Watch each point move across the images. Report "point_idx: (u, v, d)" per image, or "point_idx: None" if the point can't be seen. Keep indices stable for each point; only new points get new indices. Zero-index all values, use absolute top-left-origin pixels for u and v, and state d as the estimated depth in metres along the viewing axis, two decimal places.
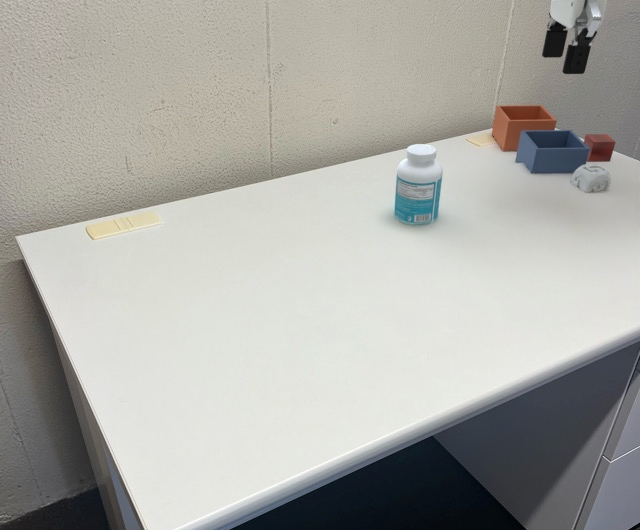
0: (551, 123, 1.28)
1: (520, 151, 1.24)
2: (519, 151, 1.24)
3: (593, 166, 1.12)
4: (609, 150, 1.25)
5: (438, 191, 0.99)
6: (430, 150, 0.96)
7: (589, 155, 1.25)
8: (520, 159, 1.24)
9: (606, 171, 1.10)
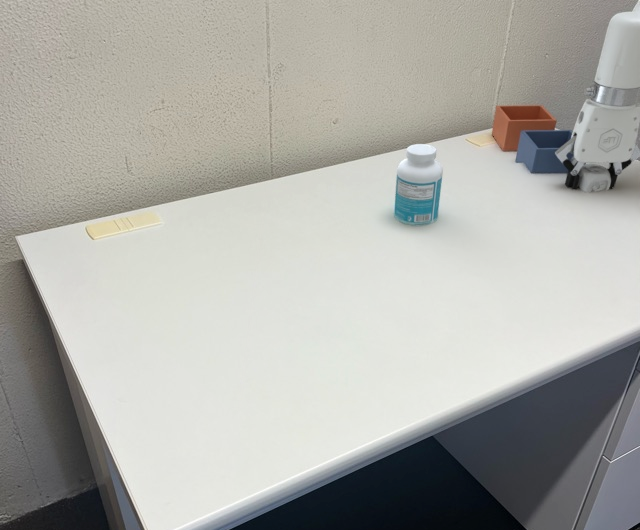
0: (551, 123, 1.28)
1: (520, 151, 1.24)
2: (519, 151, 1.24)
3: (593, 166, 1.12)
4: None
5: (438, 191, 0.99)
6: (430, 150, 0.96)
7: None
8: (520, 159, 1.24)
9: (606, 171, 1.10)
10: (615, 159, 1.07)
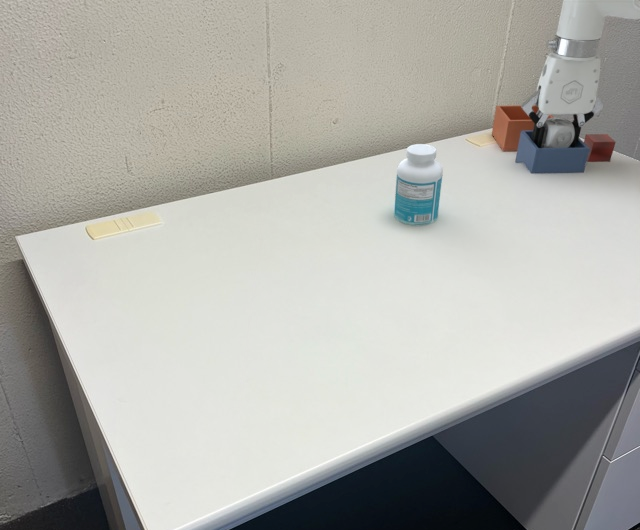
0: None
1: (520, 151, 1.24)
2: (519, 151, 1.24)
3: (558, 119, 1.18)
4: (609, 150, 1.25)
5: (438, 191, 0.99)
6: (430, 150, 0.96)
7: (589, 155, 1.25)
8: (520, 159, 1.24)
9: (570, 123, 1.16)
10: (577, 110, 1.13)
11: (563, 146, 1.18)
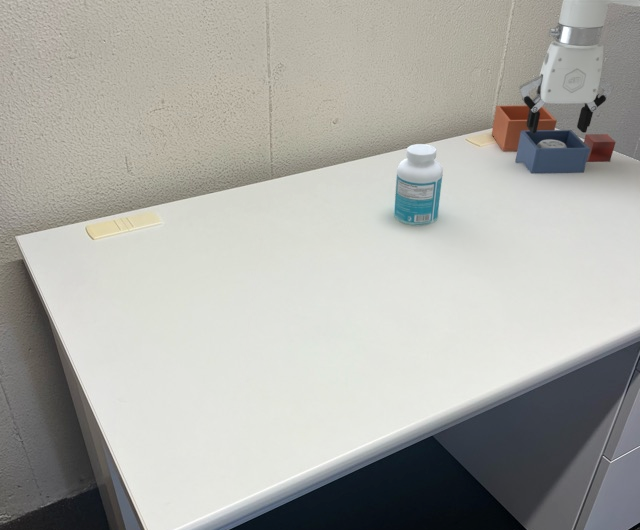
0: (551, 123, 1.28)
1: (520, 151, 1.24)
2: (519, 151, 1.24)
3: (554, 141, 1.21)
4: (609, 150, 1.25)
5: (438, 191, 0.99)
6: (430, 150, 0.96)
7: (589, 155, 1.25)
8: (520, 159, 1.24)
9: (563, 146, 1.19)
10: (580, 100, 1.12)
11: None
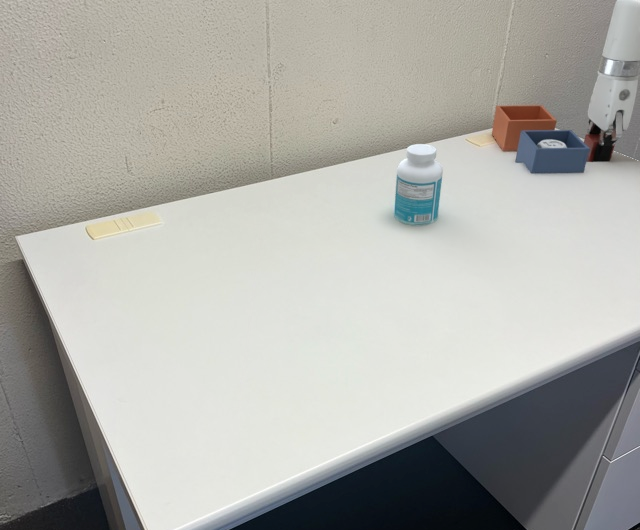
0: (551, 123, 1.28)
1: (520, 151, 1.24)
2: (519, 151, 1.24)
3: (554, 141, 1.21)
4: None
5: (438, 191, 0.99)
6: (430, 150, 0.96)
7: (589, 155, 1.25)
8: (520, 159, 1.24)
9: (563, 146, 1.19)
10: None
11: None
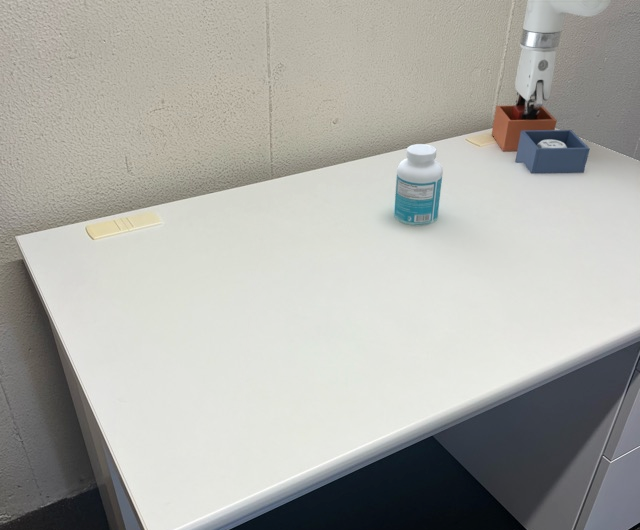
0: (551, 123, 1.28)
1: (520, 151, 1.24)
2: (519, 151, 1.24)
3: (554, 141, 1.21)
4: None
5: (438, 191, 0.99)
6: (430, 150, 0.96)
7: None
8: (520, 159, 1.24)
9: (563, 146, 1.19)
10: None
11: None
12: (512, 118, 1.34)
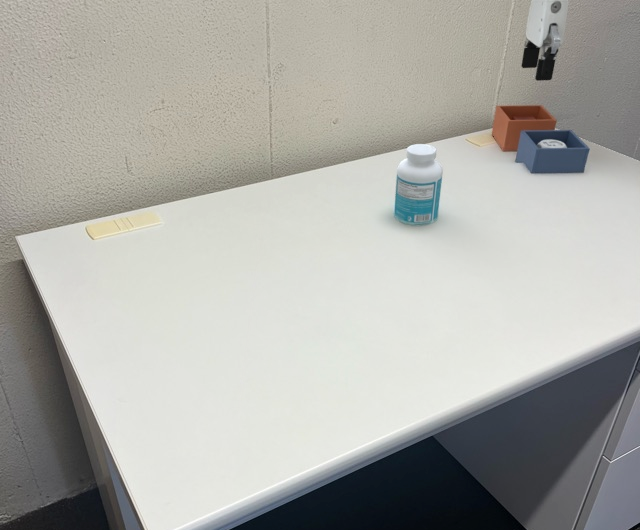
0: (551, 123, 1.28)
1: (520, 151, 1.24)
2: (519, 151, 1.24)
3: (554, 141, 1.21)
4: None
5: (438, 191, 0.99)
6: (430, 150, 0.96)
7: None
8: (520, 159, 1.24)
9: (563, 146, 1.19)
10: None
11: None
12: None
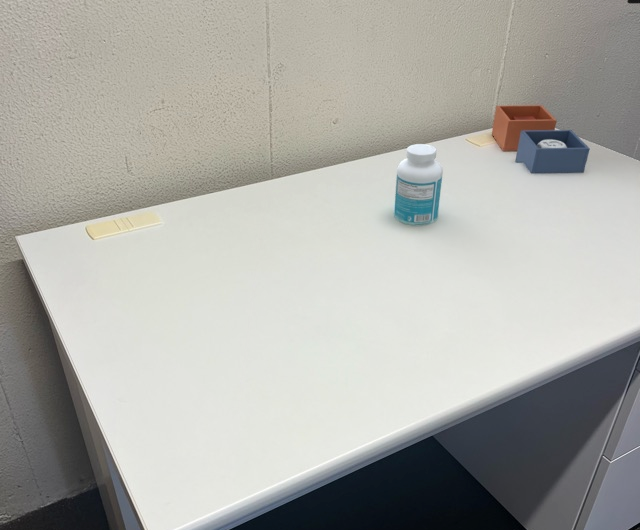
0: (551, 123, 1.28)
1: (520, 151, 1.24)
2: (519, 151, 1.24)
3: (554, 141, 1.21)
4: None
5: (438, 191, 0.99)
6: (430, 150, 0.96)
7: None
8: (520, 159, 1.24)
9: (563, 146, 1.19)
10: None
11: None
12: None
